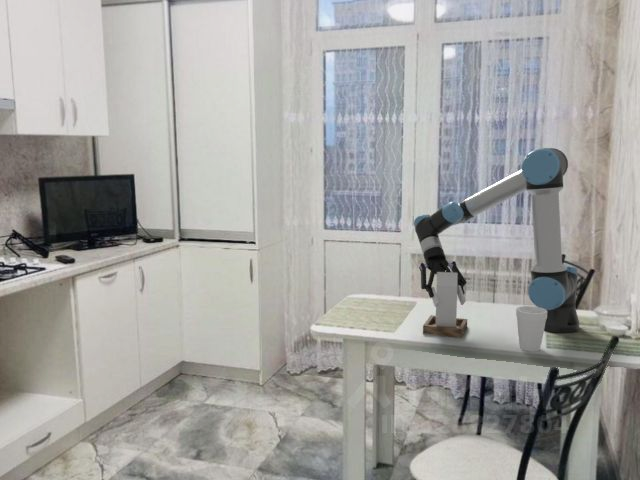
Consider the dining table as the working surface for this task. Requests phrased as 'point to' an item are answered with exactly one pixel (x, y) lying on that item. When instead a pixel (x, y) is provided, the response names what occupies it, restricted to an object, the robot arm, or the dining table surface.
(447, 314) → the milk carton
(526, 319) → the foam cup
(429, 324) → the tray
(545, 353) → the dining table surface
